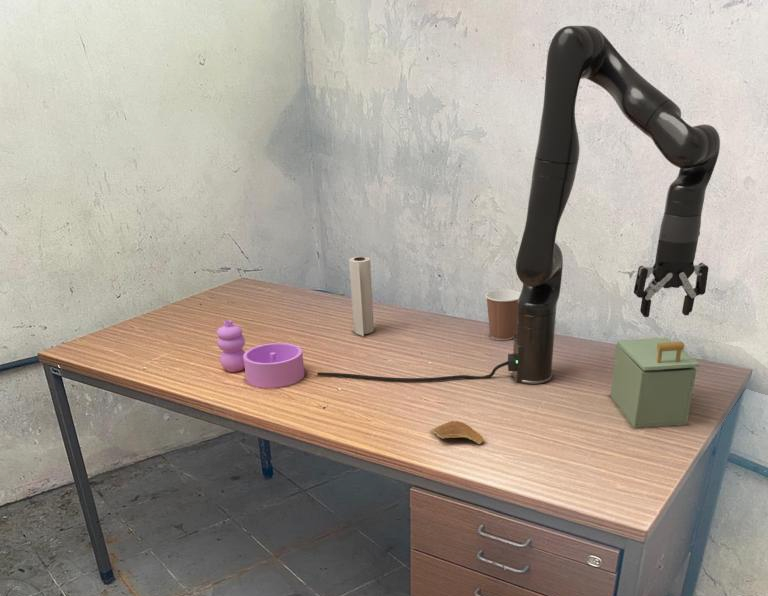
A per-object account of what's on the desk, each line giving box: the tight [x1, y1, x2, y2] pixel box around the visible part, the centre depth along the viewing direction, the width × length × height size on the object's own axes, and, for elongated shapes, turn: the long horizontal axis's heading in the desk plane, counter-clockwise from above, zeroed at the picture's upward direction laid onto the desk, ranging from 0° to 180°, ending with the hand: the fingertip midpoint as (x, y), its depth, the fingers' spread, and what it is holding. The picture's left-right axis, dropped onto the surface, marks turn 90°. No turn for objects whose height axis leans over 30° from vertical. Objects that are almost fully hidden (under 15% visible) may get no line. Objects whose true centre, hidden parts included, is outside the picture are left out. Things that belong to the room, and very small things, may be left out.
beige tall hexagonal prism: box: [348, 256, 375, 337], centre depth 222 cm, size 7×6×21 cm
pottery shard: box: [432, 420, 485, 445], centre depth 166 cm, size 10×9×2 cm
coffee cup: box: [485, 289, 521, 341], centre depth 216 cm, size 10×10×12 cm
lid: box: [616, 336, 700, 371], centre depth 166 cm, size 18×12×5 cm, turn 3°
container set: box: [216, 319, 306, 389], centre depth 200 cm, size 25×15×13 cm, turn 60°
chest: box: [609, 343, 697, 429], centre depth 171 cm, size 18×12×13 cm, turn 3°
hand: (665, 315), depth 162 cm, fingers open, 8 cm apart
